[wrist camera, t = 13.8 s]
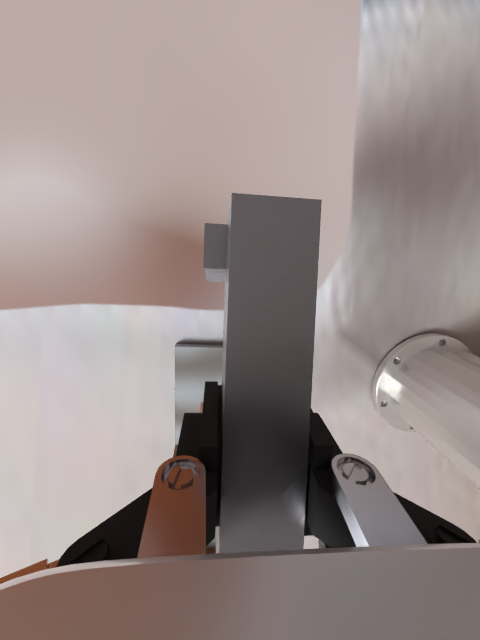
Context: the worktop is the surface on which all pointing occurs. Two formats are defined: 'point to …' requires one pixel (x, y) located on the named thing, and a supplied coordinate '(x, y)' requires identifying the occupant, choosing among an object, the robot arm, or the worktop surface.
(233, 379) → the grey long bar
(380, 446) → the worktop surface
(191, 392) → the cubby
